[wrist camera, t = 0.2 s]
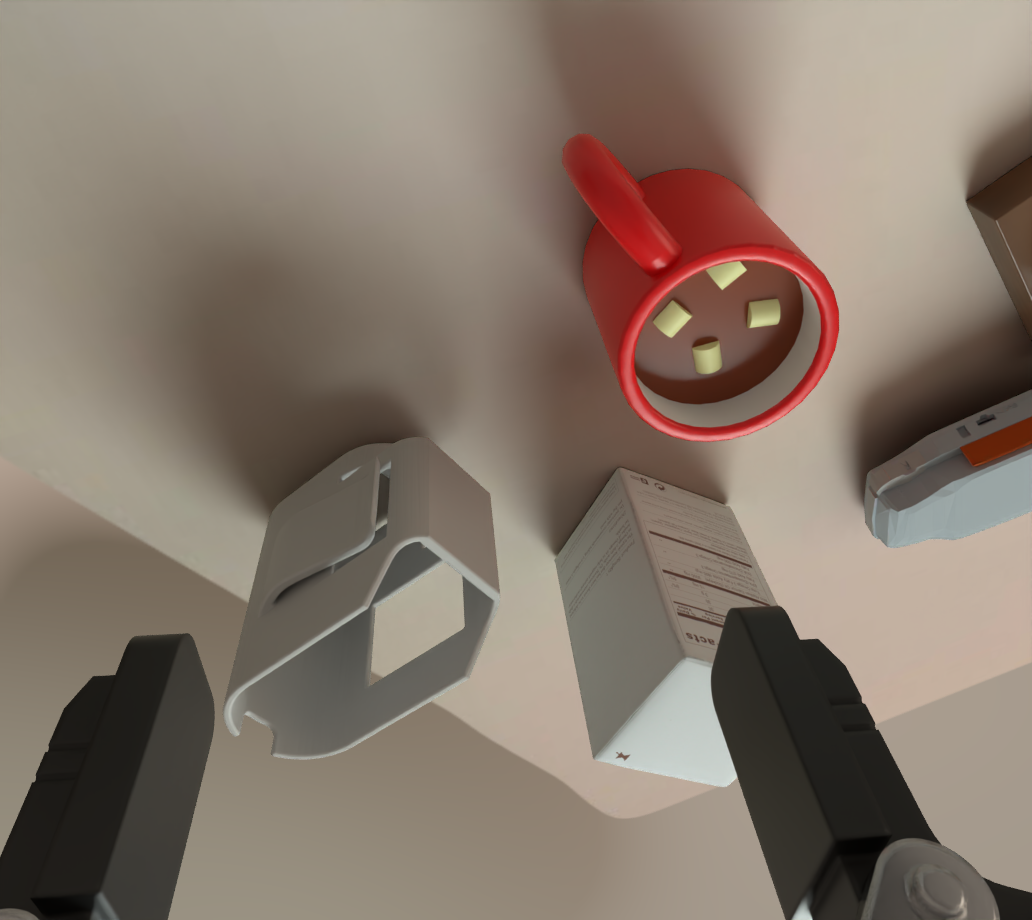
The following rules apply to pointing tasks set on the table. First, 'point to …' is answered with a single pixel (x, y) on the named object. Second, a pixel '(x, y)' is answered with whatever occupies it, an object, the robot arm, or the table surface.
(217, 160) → the table surface
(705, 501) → the white packaging box
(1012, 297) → the button block
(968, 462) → the grey case
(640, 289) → the mug
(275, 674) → the cable organizer
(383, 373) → the table surface
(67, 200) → the table surface
